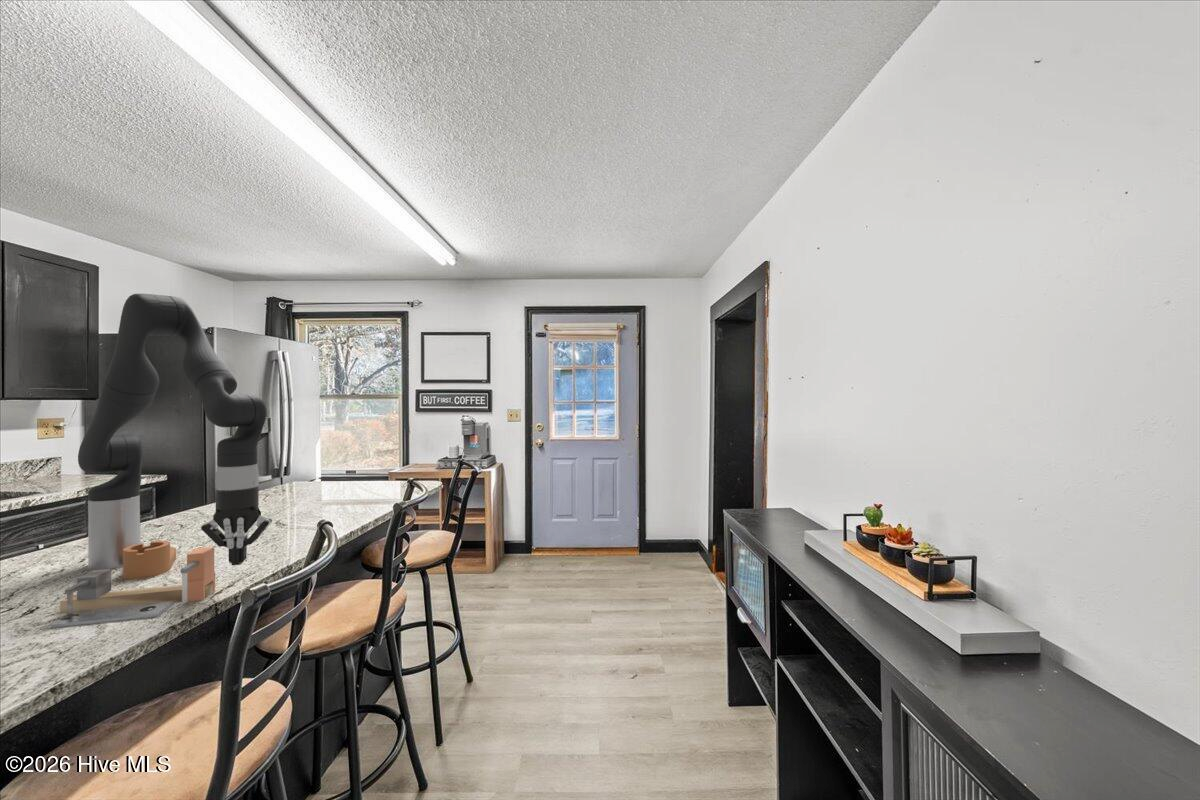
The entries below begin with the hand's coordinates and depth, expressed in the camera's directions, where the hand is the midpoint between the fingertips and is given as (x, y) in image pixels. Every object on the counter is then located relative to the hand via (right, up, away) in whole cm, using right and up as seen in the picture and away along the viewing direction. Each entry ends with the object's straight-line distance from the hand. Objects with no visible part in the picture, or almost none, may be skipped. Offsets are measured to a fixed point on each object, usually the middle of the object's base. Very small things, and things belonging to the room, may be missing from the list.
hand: (237, 564), depth 104 cm
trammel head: (-6, -6, -4) cm, 9 cm away
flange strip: (-15, -6, -12) cm, 20 cm away
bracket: (-33, -7, +15) cm, 37 cm away
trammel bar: (-16, -6, -7) cm, 18 cm away
